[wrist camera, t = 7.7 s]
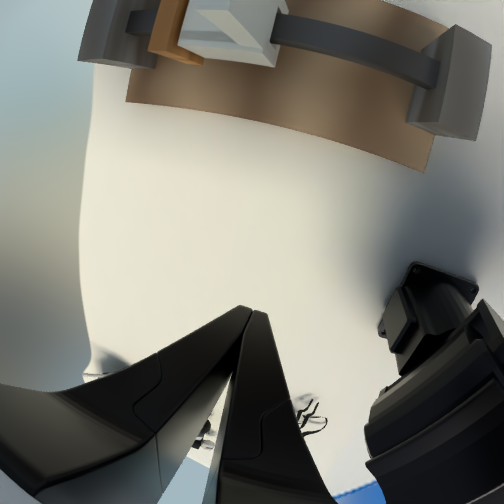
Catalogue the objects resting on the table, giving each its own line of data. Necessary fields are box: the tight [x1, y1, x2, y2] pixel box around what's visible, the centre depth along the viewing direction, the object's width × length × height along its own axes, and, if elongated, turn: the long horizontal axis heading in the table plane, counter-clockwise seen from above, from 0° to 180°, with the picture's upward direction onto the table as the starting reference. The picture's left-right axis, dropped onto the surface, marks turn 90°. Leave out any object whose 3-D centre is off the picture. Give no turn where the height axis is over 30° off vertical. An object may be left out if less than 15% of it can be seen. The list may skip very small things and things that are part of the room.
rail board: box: [78, 0, 492, 173], centre depth 12 cm, size 20×10×7 cm, turn 78°
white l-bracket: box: [177, 0, 289, 68], centre depth 9 cm, size 4×4×8 cm
